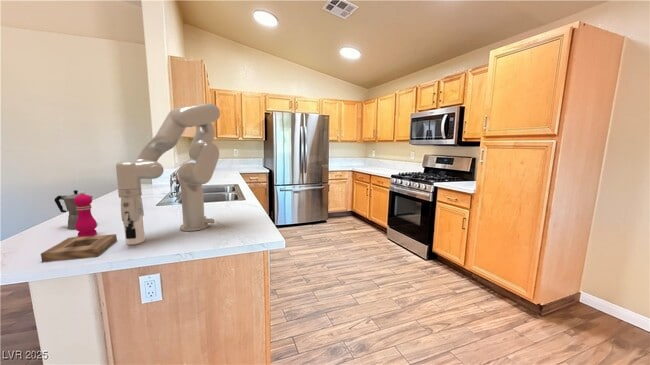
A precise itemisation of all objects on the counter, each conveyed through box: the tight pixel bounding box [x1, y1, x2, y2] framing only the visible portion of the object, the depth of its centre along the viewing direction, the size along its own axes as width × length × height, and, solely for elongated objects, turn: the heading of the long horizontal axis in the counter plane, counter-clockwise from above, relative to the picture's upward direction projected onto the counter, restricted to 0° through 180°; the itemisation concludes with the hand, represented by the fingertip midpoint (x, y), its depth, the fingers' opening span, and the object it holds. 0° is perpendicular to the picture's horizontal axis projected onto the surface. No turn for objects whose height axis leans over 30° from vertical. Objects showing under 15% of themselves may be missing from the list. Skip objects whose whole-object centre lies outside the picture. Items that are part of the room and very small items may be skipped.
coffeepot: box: [54, 189, 93, 230], centre depth 128 cm, size 15×9×18 cm, turn 103°
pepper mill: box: [74, 190, 98, 237], centre depth 116 cm, size 7×7×20 cm
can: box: [123, 215, 146, 246], centre depth 110 cm, size 6×6×12 cm
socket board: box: [40, 233, 118, 263], centre depth 102 cm, size 16×16×3 cm
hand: (134, 235), depth 110 cm, fingers closed on can, 5 cm apart
